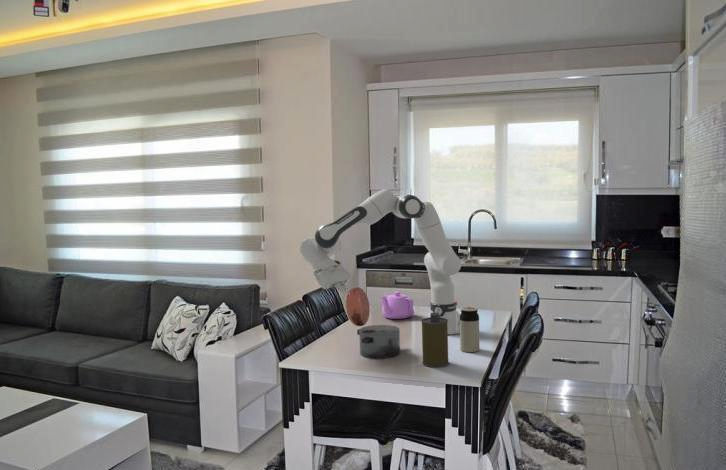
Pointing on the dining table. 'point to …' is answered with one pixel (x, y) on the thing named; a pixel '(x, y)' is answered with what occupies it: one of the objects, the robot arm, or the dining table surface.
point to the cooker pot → (379, 341)
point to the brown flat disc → (357, 306)
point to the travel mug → (469, 329)
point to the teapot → (397, 306)
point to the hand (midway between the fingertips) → (345, 291)
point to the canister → (435, 341)
